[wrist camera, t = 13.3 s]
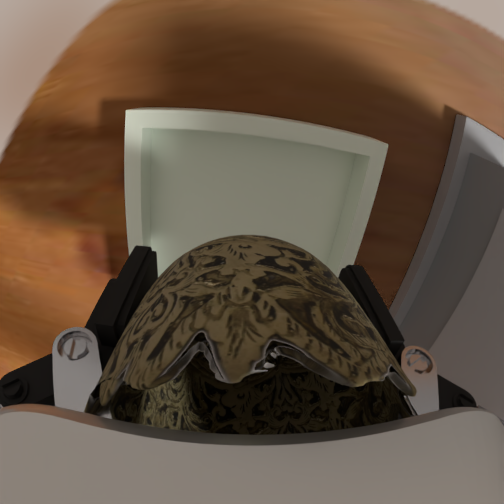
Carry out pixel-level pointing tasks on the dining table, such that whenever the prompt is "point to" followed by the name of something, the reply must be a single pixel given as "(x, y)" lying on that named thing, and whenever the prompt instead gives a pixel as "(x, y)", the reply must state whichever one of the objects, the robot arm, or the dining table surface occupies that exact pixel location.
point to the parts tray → (246, 182)
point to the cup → (251, 347)
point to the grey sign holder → (462, 270)
